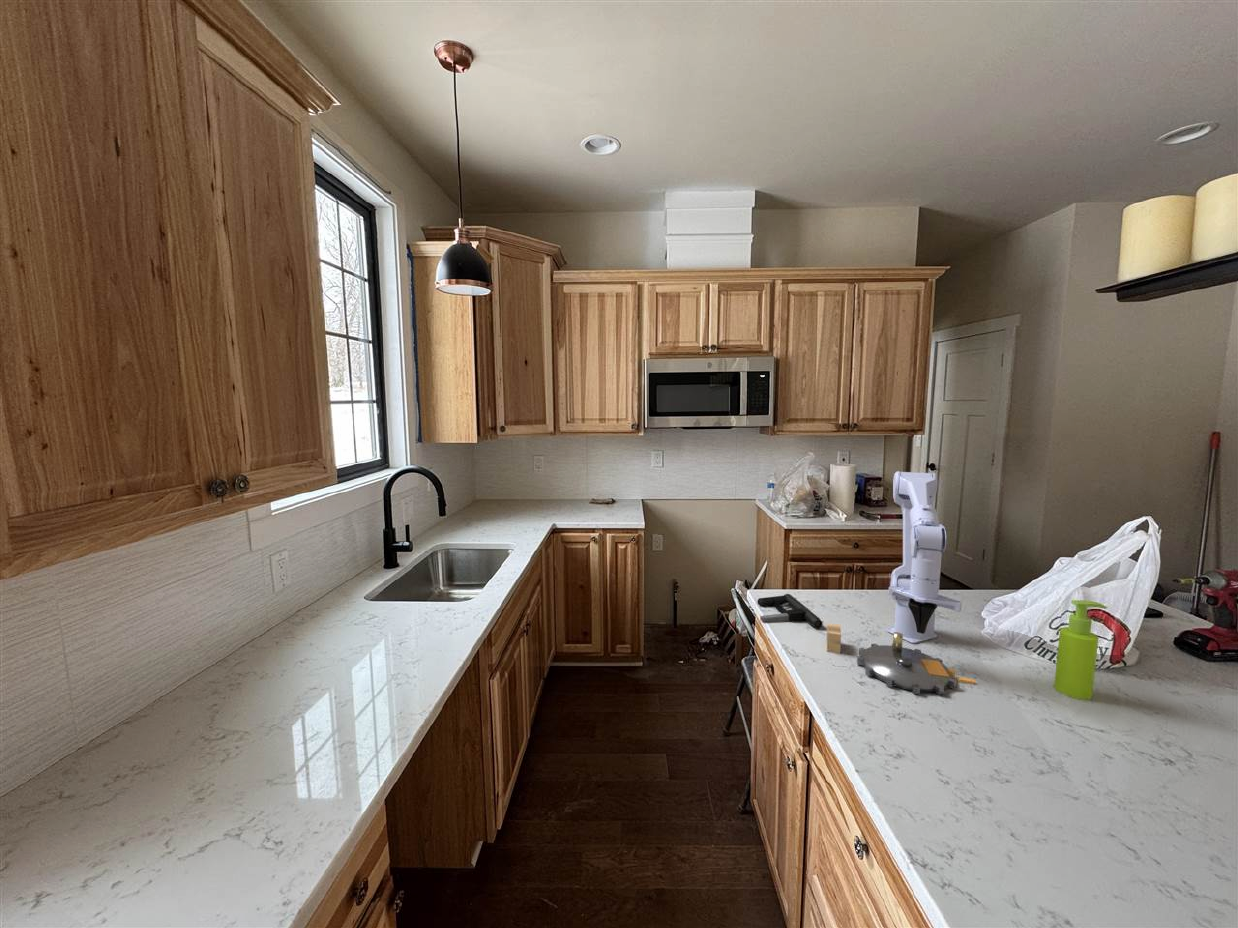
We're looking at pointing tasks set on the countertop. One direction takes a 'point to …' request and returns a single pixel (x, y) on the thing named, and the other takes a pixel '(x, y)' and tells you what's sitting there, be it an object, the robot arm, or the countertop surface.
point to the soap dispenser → (1077, 654)
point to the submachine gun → (788, 611)
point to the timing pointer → (966, 680)
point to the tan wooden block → (833, 638)
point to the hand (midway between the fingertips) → (921, 631)
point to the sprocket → (906, 667)
